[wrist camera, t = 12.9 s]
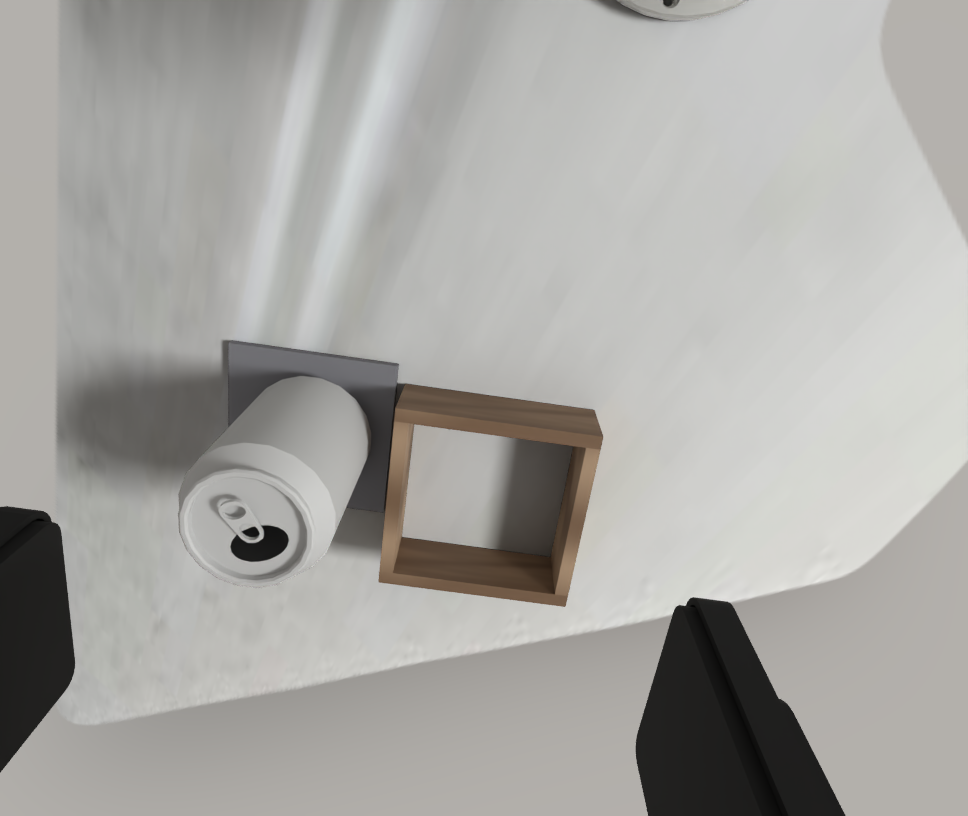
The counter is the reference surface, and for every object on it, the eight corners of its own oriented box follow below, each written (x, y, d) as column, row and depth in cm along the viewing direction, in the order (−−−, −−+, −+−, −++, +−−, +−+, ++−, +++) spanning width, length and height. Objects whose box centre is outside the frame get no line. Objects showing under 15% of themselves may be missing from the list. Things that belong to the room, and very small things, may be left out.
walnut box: (405, 383, 41) (395, 408, 37) (594, 410, 41) (603, 436, 38) (388, 545, 45) (378, 582, 42) (560, 568, 46) (565, 606, 42)
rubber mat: (231, 340, 40) (228, 342, 40) (398, 363, 41) (397, 366, 40) (231, 487, 44) (228, 491, 44) (384, 508, 44) (383, 512, 44)
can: (285, 497, 44) (211, 620, 32) (231, 394, 41) (129, 489, 30) (393, 462, 42) (354, 577, 31) (343, 354, 40) (281, 436, 29)
